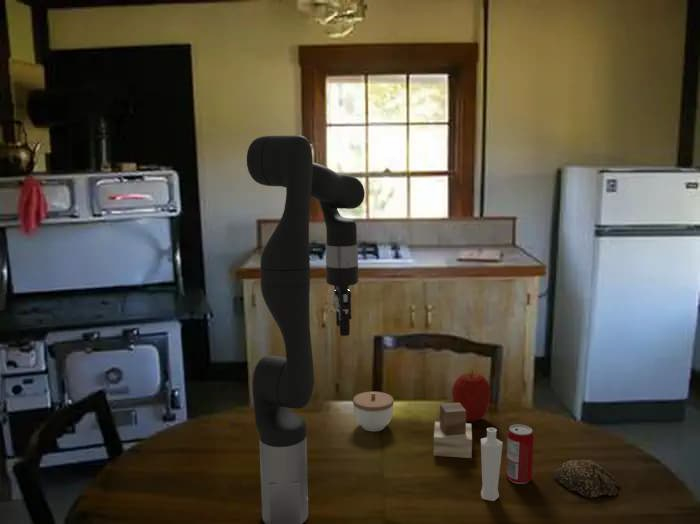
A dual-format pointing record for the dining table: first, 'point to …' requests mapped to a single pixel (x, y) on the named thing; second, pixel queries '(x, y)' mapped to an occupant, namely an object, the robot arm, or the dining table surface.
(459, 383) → the apple
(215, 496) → the dining table surface
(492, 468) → the perfume bottle
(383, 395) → the lidded jar
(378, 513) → the dining table surface
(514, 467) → the soda can
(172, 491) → the dining table surface
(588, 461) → the bread roll
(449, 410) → the walnut block
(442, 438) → the birch block
